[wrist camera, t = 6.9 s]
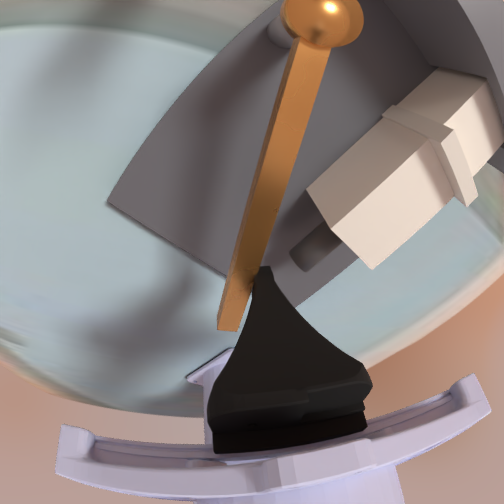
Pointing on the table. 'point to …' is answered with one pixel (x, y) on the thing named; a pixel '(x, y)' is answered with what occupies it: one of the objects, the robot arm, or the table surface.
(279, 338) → the robot arm
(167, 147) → the grey base plate
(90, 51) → the table surface
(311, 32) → the ball-topped lever
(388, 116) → the plug
